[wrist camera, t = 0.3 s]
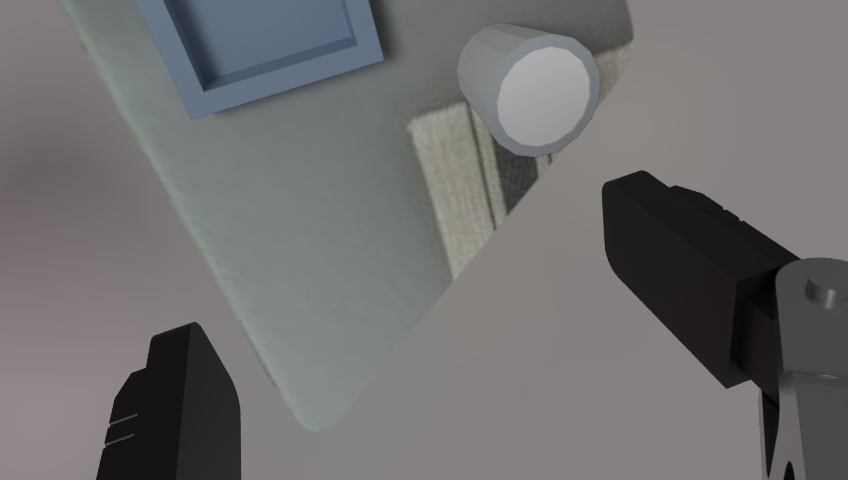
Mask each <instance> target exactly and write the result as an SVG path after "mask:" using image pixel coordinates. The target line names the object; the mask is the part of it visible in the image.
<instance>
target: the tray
mask: <svg viewBox="0 0 848 480" xmlns="http://www.w3.org/2000/svg"><path fill="white" fill-rule="evenodd" d="M136 2H137V4H138V7H139V9H140V11H141V13H142V15H143V17H144V19H145V22H146V24H147V26H148V28H149V30H150V32H151V34H152V37H153V39H154V41H155V43H156V45H157V47H158V50H159V52H160V54H161V56H162V58H163V60H164V62H165V65H166V67H167V69H168V71H169V73H170V75H171V77H172V80H173V82H174V84H175V86H176V88H177V90H178V92H179V95H180V97H181V99H182V101H183V103H184V105H185V108H186V110H187V112H188V114H189V116H190V118H191V120H192V119H195V118H198V117H202V116H205V115H208V114H211V113H215V112H218V111H221V110H224V109H228V108H231V107H234V106H237V105H241V104H244V103H247V102H250V101H254V100H257V99H260V98H263V97H267V96H270V95H273V94H276V93H280V92H283V91H286V90H289V89H293V88H296V87H299V86H302V85H306V84H309V83H312V82H315V81H319V80H322V79H325V78H328V77H332V76H335V75H338V74H341V73H345V72H348V71H351V70H354V69H358V68H361V67H364V66H367V65H371V64H374V63H377V62H380V61H384V58H383V54H382V50H381V46H380V43H379V39H378V35H377V31H376V27H375V23H374V20H373V16H372V12H371V8H370V4H369V1H368V0H136Z"/></svg>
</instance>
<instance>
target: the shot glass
mask: <svg viewBox="0 0 848 480" xmlns="http://www.w3.org/2000/svg"><path fill="white" fill-rule="evenodd" d="M457 74H458V81H459V87H460V89H461V91H462V92H463V94H464V96H465V97H466V99H467V100H468V102H469V103H470V105H471V106H472V107H473V109H474V110H475V112H476V113H477V114H478V116H479V117H480V118H481V120H482V121H483V123H484V124H485V125H486V127H487V128H488V129H489V131H490V132H491V134H492V135H493V136H494V138H495V139H496V140H497V142H498V143H499V144H500V145H502V146H503V147H505V148H506V149H508V150H510V151H511V152H513V153H514V154H516V155H523V156H532V157H539V156H542V155H546V154H550V153H553V152H557V151H559V150H560V149H562V148H563V147H565V146H566V145H567V144H569V143H570V142H572V141H573V140H574V139H575V138H577V137H578V136H579V135H580V133H581V132H582V131H583V129H584V128H585V127H586V125H587V124H588V122H589V121H590V120H591V119H592V116H593V113H594V110H595V108H596V105H597V102H598V99H599V96H600V79H599V70H598V68H597V65H596V63H595V61H594V59H593V56H592V54H591V52H590V51H589V50H588V49H587V48H585V47H584V46H583V45H582V44H580V43H579V42H578V41H577V40H575V39H574V38H571V37H567V36H562V35H557V34H553V33H548V32H544V31H539V30H534V29H530V28H525V27H521V26H516V25H511V24H506V23H499V24H495V25H491V26H487V27H485V28H483V29H482V30H481V31H479V32H478V33H477V34H475V35H474V36H472V37H471V38H470V40H469V41H468V43H467V45H466V46H465V48H464V49H463V51H462V52H461V55H460V59H459V64H458V68H457Z"/></svg>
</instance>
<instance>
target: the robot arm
mask: <svg viewBox="0 0 848 480" xmlns="http://www.w3.org/2000/svg"><path fill="white" fill-rule="evenodd" d="M602 206H603V223H604V241H605V251H606V255H607V258H608V261H609V263H610V266H611V268H612V269H613V271H614V273H615V274H616V275H617V276H618V278H619V279H620V280H621V281H622V282H623V283H624V284H625V285H626V286H627V287H628V288H629V289H630V290H631V291H632V292H633V293H634V294H635V295H636V296H637V297H638V298H639V299H640V300H641V301H642V302H643V303H644V304H645V305H646V307H647V308H648V309H650V311H651V312H652V313H653V314H654V315H655V316H656V317H657V318H658V319H659V320H660V321H661V322H662V323H663V324H664V325H665V326H666V327H667V328H668V329H669V330H670V331H671V332H672V333H673V334H674V335H675V336H676V337H677V338H678V340H679V341H680V342H682V344H683V345H684V346H685V347H686V348H687V349H688V350H689V351H690V352H691V353H692V354H693V355H694V356H695V357H696V358H697V359H698V360H699V361H700V362H701V363H702V364H703V365H704V366H705V367H706V368H707V369H708V370H709V372H710V373H711V374H712V375H713V376H714V377H715V378H716V379H717V380H718V381H719V382H720V383H721V384H722V385H723V386H724V387H725V388H726V389H727V388H730V387H733V386H735V385H738V384H740V383H743V382H745V381H748V380H752V381H753V382H754V383H755V384H756V385H757V386H758V387H759V388H760V390H759V398H758V407H759V426H760V444H761V462H762V480H848V262H847V261H843V260H838V259H832V258H806V259H800V258H798V257H797V256H795V255H794V254H793V253H791V252H790V251H788V250H786V249H785V248H783V247H782V246H780V245H779V244H777V243H776V242H775V241H773V240H771V239H770V238H768V237H767V236H766V235H764V234H762V233H761V232H760V231H758V230H756V229H755V228H753V227H752V226H751V225H749V224H748V223H746V222H745V221H740V220H739V218H738V217H737V216H736V215H734V214H733V213H731V212H729V211H728V210H723V207H722V206H720V205H719V204H717V203H716V202H714V201H713V200H711V199H710V198H708V197H707V196H705V195H704V194H702V193H699V192H696V191H692V190H689V189H686V188H683V187H679V186H676V185H675V186H673V187H668V186H666V185H665V184H663V183H662V182H661V181H659V180H658V179H656V178H655V177H653V176H652V175H651V174H649V173H648V172H646V171H638V172H635V173H632V174H629V175H626V176H623V177H620V178H617V179H615V180H611V181H609V182H606V183H605V184H604V185H603V188H602ZM109 423H110V427H109V428H108V430H107V434H106V439H105V446H106V448H104V449H103V452H102V456H101V460H100V465H99V469H98V473H97V478H96V480H241V421H240V404H239V400H238V395H237V392H236V389H235V386H234V384H233V381H232V379H231V377H230V376H229V374H228V372H227V370H226V369H225V367H224V365H223V364H222V362H221V360H220V358H219V356H218V355H217V353H216V351H215V350H214V348H213V346H212V344H211V343H210V341H209V339H208V337H207V336H206V334H205V332H204V331H203V329H202V328H201V326H200V325H199V324H198V323H196V322H193V323H190V324H187V325H184V326H181V327H178V328H175V329H172V330H169V331H166V332H163V333H161V334H157V335H155V336H153V337H152V339H151V343H150V348H149V353H148V359H147V364H146V368H144V369H142V370H138V371H136V372H133V373H131V374H130V376H129V378H128V379H127V381H126V382H125V384H124V385H123V387H122V388H121V390H120V391H119V393H118V394H117V396H116V397H115V400H114V404H113V409H112V413H111V418H110V421H109Z"/></svg>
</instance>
